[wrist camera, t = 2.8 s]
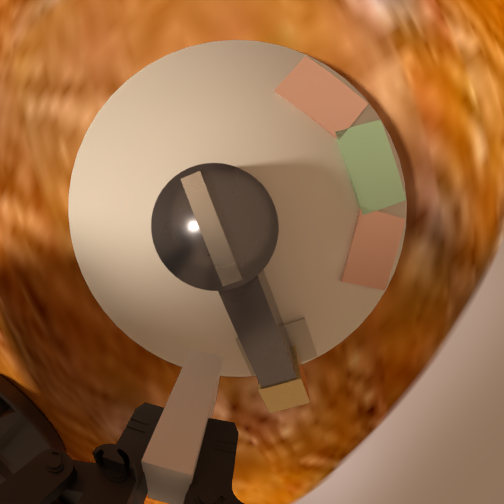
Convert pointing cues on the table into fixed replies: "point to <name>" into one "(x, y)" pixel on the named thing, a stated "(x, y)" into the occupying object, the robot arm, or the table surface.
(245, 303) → the needle
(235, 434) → the robot arm
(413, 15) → the table surface
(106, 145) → the dial plate
